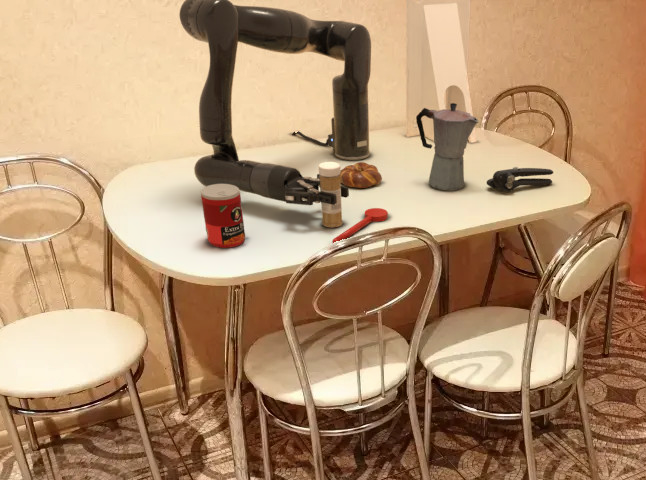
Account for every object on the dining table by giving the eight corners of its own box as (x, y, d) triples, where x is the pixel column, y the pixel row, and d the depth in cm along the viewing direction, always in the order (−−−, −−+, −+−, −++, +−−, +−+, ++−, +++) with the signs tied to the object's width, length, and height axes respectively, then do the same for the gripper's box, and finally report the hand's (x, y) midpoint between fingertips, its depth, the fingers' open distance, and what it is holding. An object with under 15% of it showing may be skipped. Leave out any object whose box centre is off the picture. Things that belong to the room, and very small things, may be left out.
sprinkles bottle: (339, 219, 173) (337, 160, 166) (344, 227, 170) (342, 166, 162) (319, 221, 172) (316, 161, 164) (324, 229, 168) (321, 168, 161)
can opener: (496, 197, 187) (498, 174, 184) (483, 187, 192) (485, 165, 189) (559, 188, 193) (562, 166, 190) (545, 179, 198) (547, 157, 195)
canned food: (227, 251, 158) (220, 199, 152) (199, 242, 161) (191, 191, 155) (253, 239, 163) (248, 188, 157) (226, 230, 167) (219, 180, 160)
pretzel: (338, 173, 198) (337, 159, 196) (380, 173, 199) (380, 158, 197) (337, 190, 188) (336, 175, 186) (382, 189, 189) (382, 174, 187)
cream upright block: (431, 149, 217) (434, -10, 194) (406, 135, 227) (406, -17, 204) (489, 139, 225) (499, -14, 203) (463, 127, 235) (469, -20, 213)
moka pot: (472, 194, 188) (476, 110, 177) (410, 188, 190) (411, 105, 179) (478, 181, 196) (483, 100, 184) (418, 176, 198) (420, 95, 187)
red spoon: (344, 248, 160) (344, 242, 160) (323, 243, 162) (323, 237, 161) (391, 215, 176) (391, 209, 175) (371, 211, 178) (371, 205, 177)
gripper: (254, 175, 164) (322, 189, 158) (293, 156, 175) (358, 169, 169) (258, 208, 169) (324, 223, 163) (295, 188, 179) (359, 202, 173)
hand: (341, 196), depth 166 cm, fingers closed on sprinkles bottle, 4 cm apart
